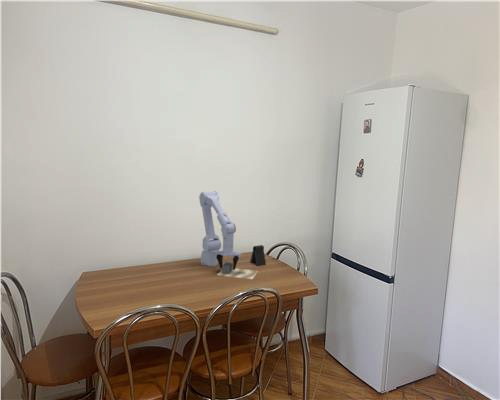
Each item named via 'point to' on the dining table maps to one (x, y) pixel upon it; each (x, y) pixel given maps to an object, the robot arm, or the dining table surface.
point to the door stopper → (258, 256)
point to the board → (240, 273)
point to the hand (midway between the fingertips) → (227, 268)
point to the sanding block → (227, 267)
